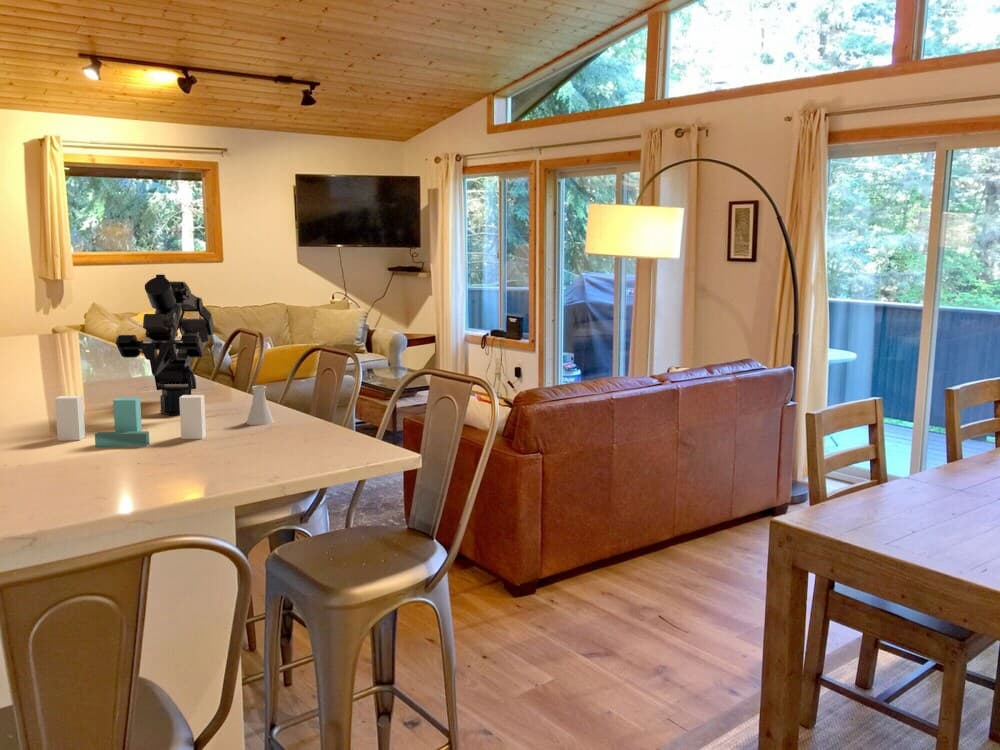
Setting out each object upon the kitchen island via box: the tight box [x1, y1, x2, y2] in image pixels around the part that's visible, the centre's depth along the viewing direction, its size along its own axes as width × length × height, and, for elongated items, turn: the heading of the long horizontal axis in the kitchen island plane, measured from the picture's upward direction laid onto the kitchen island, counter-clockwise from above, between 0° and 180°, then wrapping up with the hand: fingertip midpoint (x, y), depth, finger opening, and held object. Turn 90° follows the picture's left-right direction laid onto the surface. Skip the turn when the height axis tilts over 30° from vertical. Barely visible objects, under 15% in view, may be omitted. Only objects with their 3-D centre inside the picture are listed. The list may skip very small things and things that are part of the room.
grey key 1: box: [54, 395, 86, 442], centre depth 172 cm, size 3×4×9 cm
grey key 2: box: [179, 394, 207, 440], centre depth 175 cm, size 3×4×9 cm
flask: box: [246, 385, 275, 426], centre depth 191 cm, size 7×7×10 cm
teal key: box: [112, 397, 143, 432], centre depth 171 cm, size 3×4×9 cm
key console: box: [94, 430, 150, 448], centre depth 171 cm, size 12×31×4 cm, turn 96°
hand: (154, 374), depth 189 cm, fingers closed
